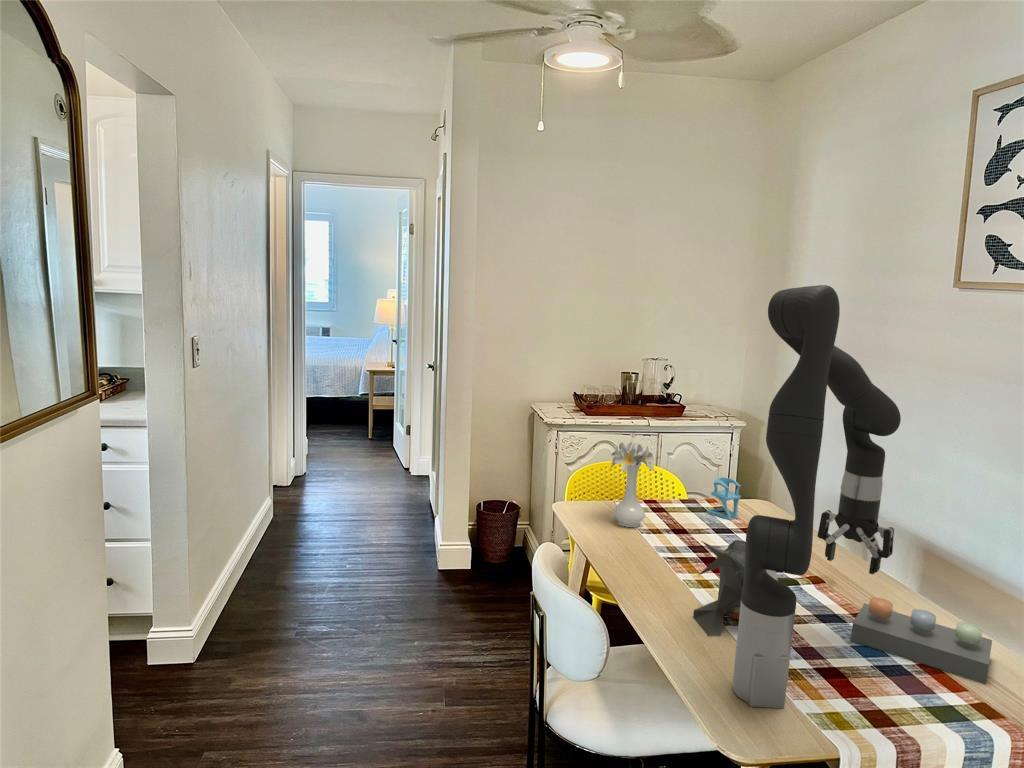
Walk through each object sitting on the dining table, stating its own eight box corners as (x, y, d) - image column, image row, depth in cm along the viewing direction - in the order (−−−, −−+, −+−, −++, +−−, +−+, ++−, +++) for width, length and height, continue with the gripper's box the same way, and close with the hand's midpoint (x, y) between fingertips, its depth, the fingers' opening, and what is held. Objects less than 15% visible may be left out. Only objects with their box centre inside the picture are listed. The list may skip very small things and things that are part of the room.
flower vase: (643, 514, 223) (649, 437, 219) (653, 535, 204) (660, 452, 200) (602, 511, 223) (607, 435, 219) (608, 533, 205) (614, 449, 201)
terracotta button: (892, 612, 151) (894, 601, 151) (889, 619, 148) (890, 609, 147) (870, 605, 154) (871, 595, 153) (866, 613, 150) (867, 602, 150)
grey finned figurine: (776, 634, 151) (785, 554, 148) (708, 636, 148) (716, 555, 145) (745, 602, 165) (753, 529, 162) (682, 604, 162) (689, 530, 159)
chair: (725, 521, 219) (728, 484, 217) (705, 512, 226) (709, 476, 225) (742, 518, 223) (746, 481, 221) (723, 509, 230) (726, 474, 228)
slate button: (935, 624, 147) (937, 614, 146) (933, 632, 143) (934, 621, 143) (911, 617, 149) (913, 607, 149) (908, 625, 146) (910, 614, 145)
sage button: (981, 637, 142) (983, 626, 141) (980, 646, 138) (981, 635, 138) (956, 630, 144) (957, 619, 144) (953, 638, 141) (955, 627, 141)
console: (989, 658, 145) (992, 640, 144) (985, 683, 135) (988, 664, 134) (861, 619, 159) (864, 603, 158) (850, 640, 149) (852, 623, 149)
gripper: (904, 498, 143) (893, 572, 146) (832, 481, 153) (823, 550, 156) (891, 506, 138) (880, 583, 141) (818, 488, 148) (810, 560, 151)
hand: (850, 566), depth 149 cm, fingers open, 8 cm apart
